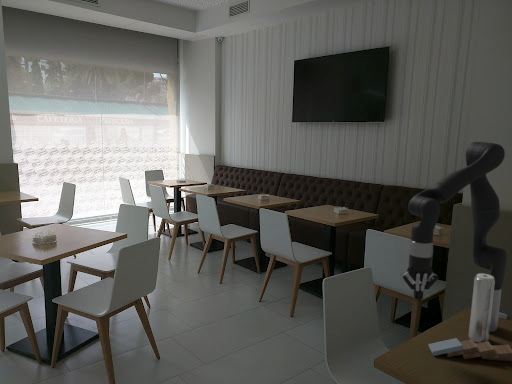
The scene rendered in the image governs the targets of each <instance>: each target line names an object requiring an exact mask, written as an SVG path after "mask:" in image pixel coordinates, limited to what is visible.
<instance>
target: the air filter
mask: <svg viewBox="0 0 512 384" xmlns="http://www.w3.org/2000/svg"><path fill="white" fill-rule="evenodd" d="M494 285H495V279H494V277H493V276H491V275H490V274H487V273H476V275H475V276H474V280H473V289H472V290H473V291H472V299H471V309H470V318H469V327H468V338H469V340H470V339H472V340H473V342H474V343H482V342H487V341H488V342H489V337H490V332H489V329H490V321H491V312H492V303H493V294H494Z"/></svg>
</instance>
